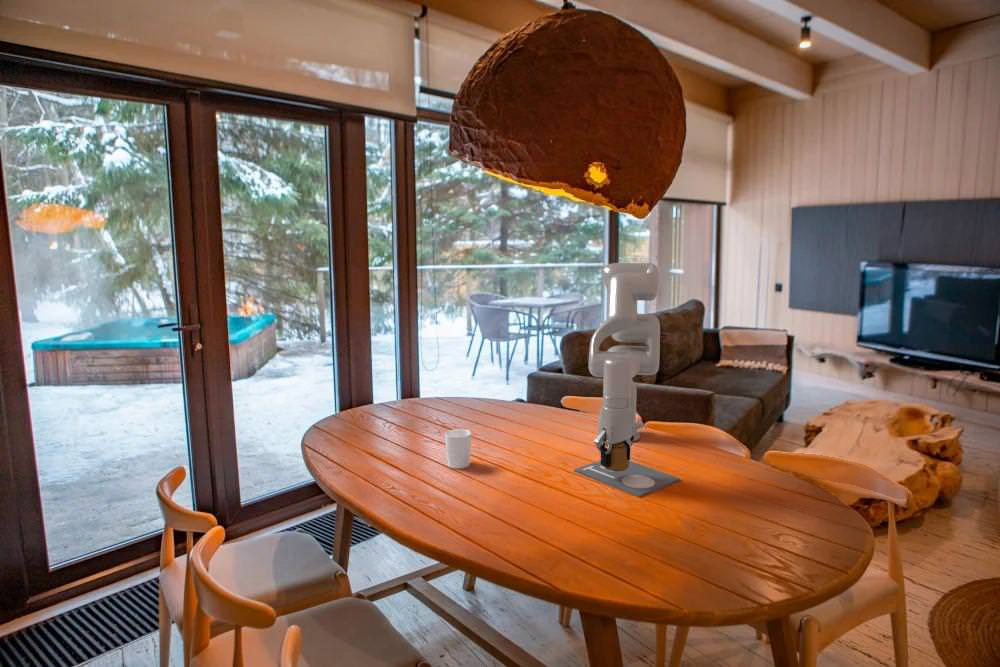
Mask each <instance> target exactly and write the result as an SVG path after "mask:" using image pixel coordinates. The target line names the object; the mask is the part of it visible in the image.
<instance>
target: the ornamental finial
mask: <svg viewBox="0 0 1000 667" xmlns="http://www.w3.org/2000/svg"><path fill="white" fill-rule="evenodd" d="M607 445H608V444H606V445H605V447H606V448H607ZM609 453H610V454H611V467H609V468H608V467H605V466H603V467H604V468H605V469H607V470H610V471H624V470H626V469H627V468H628V467H629V461H630V460H629V461H628V459H627V456H626V445H625V444H624V442H619V443H616V444H612V447H611V450H610V452H609Z"/></svg>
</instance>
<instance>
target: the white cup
mask: <svg viewBox="0 0 1000 667" xmlns="http://www.w3.org/2000/svg"><path fill="white" fill-rule="evenodd" d="M444 441H445V442H444V443H445V452H446V454H445V455H446V459H447V467H449V468H451V469H455V470H461V469H466V468H468V467H469V466H470V465H471V463H470V462H471V459H470V458H471V453H472V452H471V447H472V432H471V430H468V429H462V428H459V429H458V428H455V429H450V430H447V431H446V432H444Z"/></svg>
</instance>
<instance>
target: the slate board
mask: <svg viewBox="0 0 1000 667" xmlns="http://www.w3.org/2000/svg"><path fill="white" fill-rule="evenodd" d="M573 472H575V473H577V474H579V475H582V476H585V477H587V478H590V479H592V480H595V481H597V482H600V483H602V484H605V485H608V486H609V487H612V488H615V489H617V490H620V491H623V492H624V493H627V494H630V495H632V496H634V497H637V498H641V497H644V496H646V495H649V494H650V493H653V492H656V491H658V490H660V489H664V488H665V487H668V486H671V485H673V484H675V483H678V482H680V481H681V477H677V476H675V475H671V474H669V473H667V472H666V473H665V472H663V471H660V470H657V469H654V468H652V467H648V466H646V465H643V464H640V463H637V462H633V461H631V460H629V467H628V468H627V469H626V470H624V471H610V470H607V469H605V468H604V467H603V465H601V460H598V461H594V462H592V463H588V464H586V465H582V466H580V467H576V468H574V469H573ZM670 484H671V485H670Z"/></svg>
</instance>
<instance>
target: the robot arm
mask: <svg viewBox="0 0 1000 667" xmlns="http://www.w3.org/2000/svg"><path fill="white" fill-rule="evenodd" d="M659 274H660V273H659V269H658V266H657V265H656V264H654V263H651V262H613V263H608V264H606V265H605V266H603V268H602V279H603V282H604V285H605V287H606V290H607V292H608V293H607V308H606V309H607V310H606V319H605V320H604V321H603V322H602V323H601V324H600V325H599V326H598V327H597V328H596V330H595V331H594V333H592V336H591V338H590V343H589V350H588V352H589V353H588V370H589V373H590V374H591V375H592V376H593V377H595V378H603V380H602V381H603V383H602V384H603V386H602V387H603V389H602V390H603V391H602V397H603V398H602V406H601V408H600V410H599V411H600V412H599V417H598V425H597V426H598V427H597V436H596V438H595V439H594V442H593V443H594V444H595V446H596V448H597V449H598V451H599V453H600V461H601V465H603V466H605V467H608V468H609V467H611V454H610V453H609V452H610V450H611V447H612V444H616V443H619V442H624V444H625V445H626V456H627V459H628V461H631V448H632V446H633V442H636V441H638V440H639V439H640V438H641V434H640V432H638V429H641V428H643V427H644V422H643V421H639V422H637V385H636V383H635V381H634V380H633V378H634V377H636V375H639V376H640V375H641V376H653V375H655V374H657V373H658V372H659V369H660V358H661V357H660V356H661V355H660V353H661V351H660V350H661V344H660V343H661V324H660V320H659V318H658V317H657V315H655V314H651V313H638V301H643V302H644V301H645V302H646V301H649V302H651V301H654V300H655V299H656V298H657V296H658V293H659V285H660V284H659V280H660V279H659V276H660V275H659ZM610 336H611V338H612V339H613V340H614V341H615V342H620V343H621V342H622V343H638V344H639V343H642V344H644V345H645V346H643V345H642V346H641V345H614V346H611V347H610V348H609V349H607V350H600V347H601V344H602V342H603V341H605V339H607V338H609V337H610ZM606 444H608V445H607V448H606Z"/></svg>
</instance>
